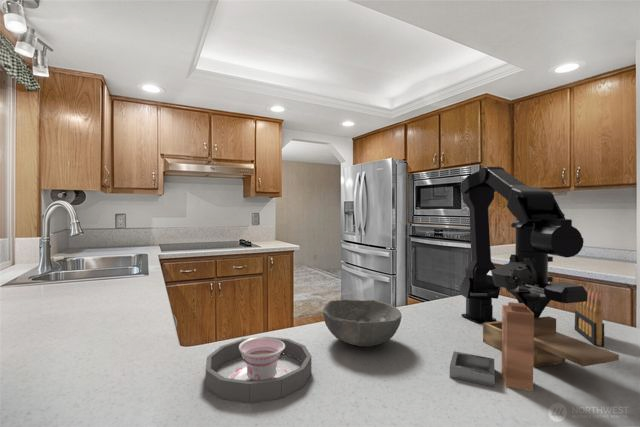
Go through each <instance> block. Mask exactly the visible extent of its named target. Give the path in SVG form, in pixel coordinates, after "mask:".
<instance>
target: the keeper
mask: <svg viewBox="0 0 640 427" xmlns="http://www.w3.org/2000/svg"><path fill="white" fill-rule="evenodd" d="M460 365H463V366H460ZM466 366H468V367H466ZM471 367H474V368H471ZM475 368H478V369H475ZM495 368H496V367H495V358H492V357H487V356H481V355H475V354H470V353H465V352H460V351H455V350H454V351H453V353H452V357H451V360H450V364H449V378H453V379H456V380H461V381H465V382H468V383H469V382H470V383H475V384H479V385H483V386H488V387H493V388H495V385H496V384H495V378H496V377H495V376H496V375H495V374H496V373H495ZM480 369H481V370H480ZM485 370H487V371H485Z"/></svg>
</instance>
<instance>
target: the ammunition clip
mask: <svg viewBox="0 0 640 427" xmlns="http://www.w3.org/2000/svg"><path fill="white" fill-rule="evenodd" d="M579 285H581V286H583V287H584V288H585V289H586V291H587V302H576V310H574V330H575V331H576V332H577V333H578V334H579V335H581V336H582V338H584V339H586V340H587V341H588V342H589V343H590V344H591V345H594V346H597V347H605V323H604V322H603V320H604V319H603V318H604V316H603V315H604V314H603V306H602V297H601V293H600V292H599V291H598V292H597V290H595V289H594V290H593V289H592V288H589V286H586V285H583V284H582V283H579Z"/></svg>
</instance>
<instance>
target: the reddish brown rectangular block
mask: <svg viewBox="0 0 640 427" xmlns="http://www.w3.org/2000/svg"><path fill="white" fill-rule="evenodd" d="M507 303H508V304H502V305H501V306H502V308H501V309H502V311H501V314H502V315H501V316H502V317H501V318H502V319H501V321H502V351H501V378H502V381H503V383H504V385H505V387H507V388H513V389H518V390H525V391H534V367H533V353H534V313H533V312H532V311H531V310H530V309H529V308H528V307H527V306H526V305H525V304H524V303H519V302H511V301H508V302H507Z"/></svg>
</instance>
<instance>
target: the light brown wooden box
mask: <svg viewBox="0 0 640 427" xmlns="http://www.w3.org/2000/svg"><path fill="white" fill-rule="evenodd" d="M482 342H483V343H485V344H486V345H488V346H490V347H493V348H495V349H497V350H499V351H500V352H502V320H500V321H499V320H498V321H497V320H496V321H491V322H482ZM563 363H566V359H564V358H562V357H560V356H557V355H555V354H553V353H551V352H548V351H546V350H544V349H541V348H539V347H537V346H535V345H534V353H533V369H535V368H540V367H544V366H545V367H546V366H551V365H558V364H563Z"/></svg>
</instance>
